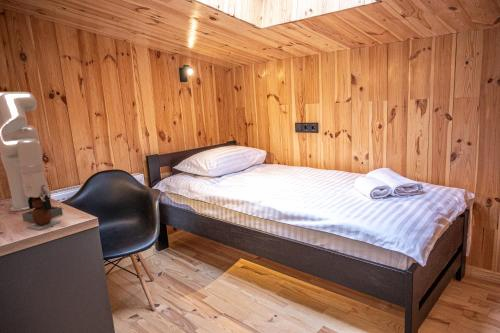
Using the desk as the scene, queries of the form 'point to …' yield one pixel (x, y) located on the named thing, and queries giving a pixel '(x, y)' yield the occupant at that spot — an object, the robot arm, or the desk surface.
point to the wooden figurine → (40, 212)
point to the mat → (41, 227)
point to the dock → (54, 213)
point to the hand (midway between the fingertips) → (40, 208)
